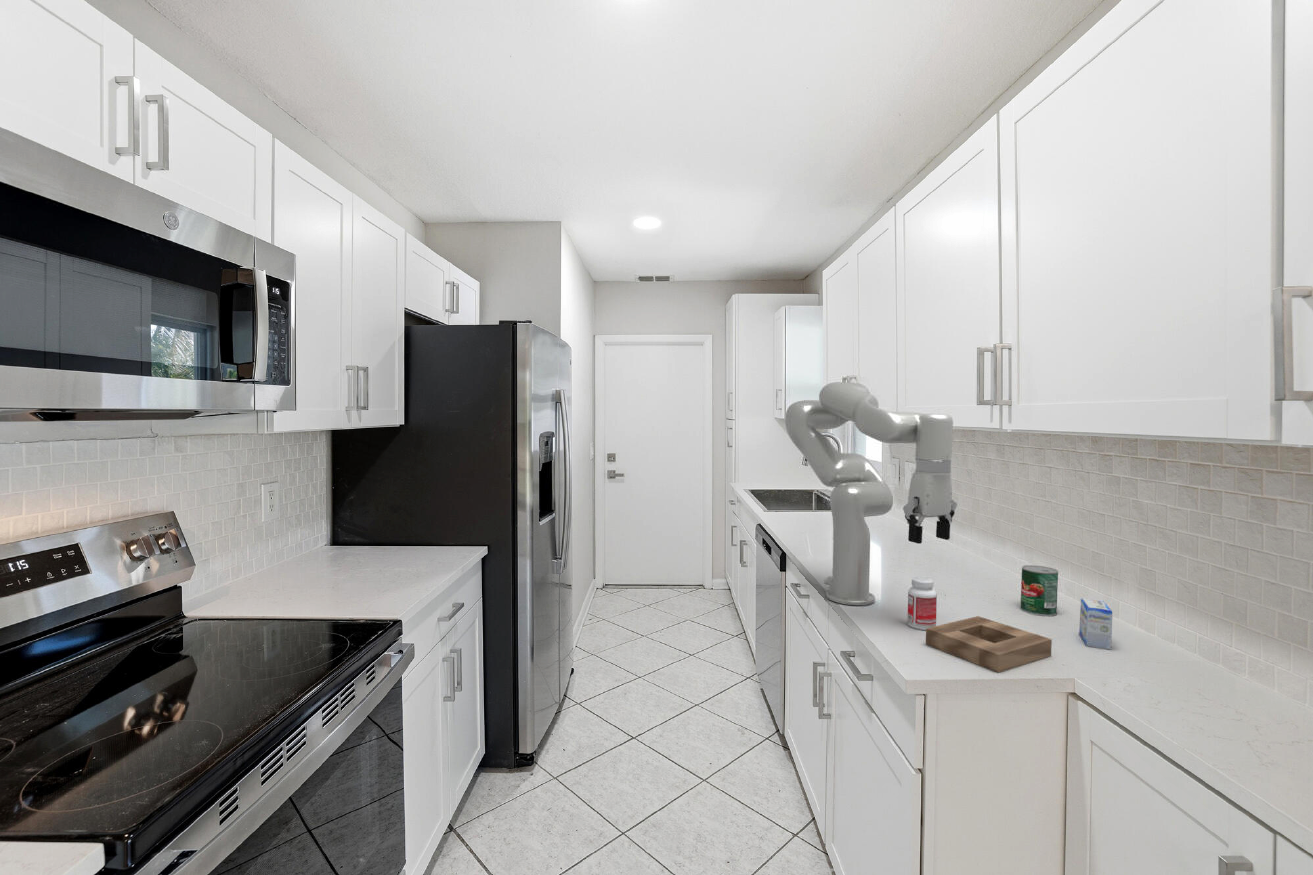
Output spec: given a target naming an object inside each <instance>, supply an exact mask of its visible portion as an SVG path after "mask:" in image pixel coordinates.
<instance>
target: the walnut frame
mask: <svg viewBox="0 0 1313 875" xmlns="http://www.w3.org/2000/svg"><path fill="white" fill-rule="evenodd" d="M1052 641H1053V640H1052V638H1049V637H1046V636H1043V635H1039V634H1036V633H1034V632H1030V631H1026V630H1023V629H1021V628H1018V627H1014V626H1011V625H1008V624H1004V623H1001V622H999V621H996V620H995V621H994V620H991V619H990V618H989V619H988V618H985V617H983V616H979V615H977V616H973V617H968V618H964V619H960V620H956V621H952V622H947V623H944V624H938V625H936V626H934V627H930V628H926V630H925V645H926V646H929V647H932V648H934V649H937V650H939V651H941V652H944V653H946V654H949V655H952V656H955V657H957V658H959V659H961V660H965V661H968V662H970V663H973V664H976V665H978V666H980V667H983V668H985V669H988V670H991V671H993V672H996V673H998V674H999V673H1001V672H1006V671H1008V670H1011V669H1015V668H1018V667H1021V666H1024V665H1027V664H1029V663H1034V662H1037V661H1040V660H1043V659H1047V658H1049V657H1052Z"/></svg>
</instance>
